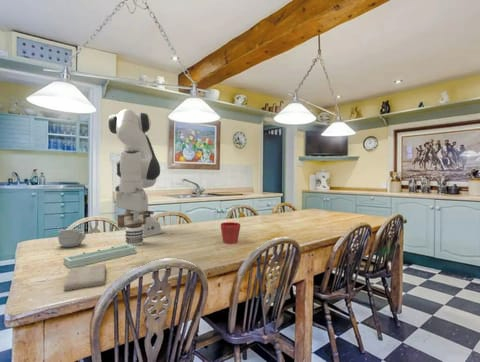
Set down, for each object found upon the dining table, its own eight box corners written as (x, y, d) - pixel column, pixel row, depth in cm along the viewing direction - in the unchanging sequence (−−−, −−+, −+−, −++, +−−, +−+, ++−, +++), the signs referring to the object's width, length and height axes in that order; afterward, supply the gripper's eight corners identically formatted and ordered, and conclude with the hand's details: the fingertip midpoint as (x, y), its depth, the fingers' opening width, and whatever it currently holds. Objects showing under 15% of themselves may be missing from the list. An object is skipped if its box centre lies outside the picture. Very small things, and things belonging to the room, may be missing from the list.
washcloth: (106, 269, 107) (105, 261, 107) (106, 286, 91) (106, 277, 91) (70, 274, 102) (70, 265, 101) (63, 293, 85) (63, 283, 85)
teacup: (53, 247, 137) (53, 231, 137) (75, 242, 147) (75, 227, 146) (70, 250, 130) (70, 234, 130) (92, 245, 140) (92, 229, 140)
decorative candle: (131, 246, 137) (130, 196, 137) (121, 243, 143) (120, 195, 142) (147, 243, 145) (146, 195, 144) (137, 240, 150) (136, 194, 150)
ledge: (127, 249, 132) (127, 243, 132) (136, 253, 127) (136, 246, 127) (63, 263, 112) (63, 256, 112) (70, 268, 106) (70, 260, 106)
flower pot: (241, 239, 153) (241, 222, 152) (239, 244, 142) (239, 226, 142) (222, 239, 154) (222, 221, 153) (218, 244, 143) (218, 225, 143)
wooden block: (142, 223, 122) (142, 211, 122) (146, 224, 120) (145, 212, 120) (117, 227, 114) (117, 215, 114) (121, 228, 112) (121, 215, 112)
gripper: (151, 188, 112) (152, 222, 113) (127, 186, 125) (127, 216, 126) (137, 189, 107) (138, 224, 108) (113, 187, 121) (114, 218, 121)
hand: (132, 220), depth 117 cm, fingers closed on wooden block, 3 cm apart
